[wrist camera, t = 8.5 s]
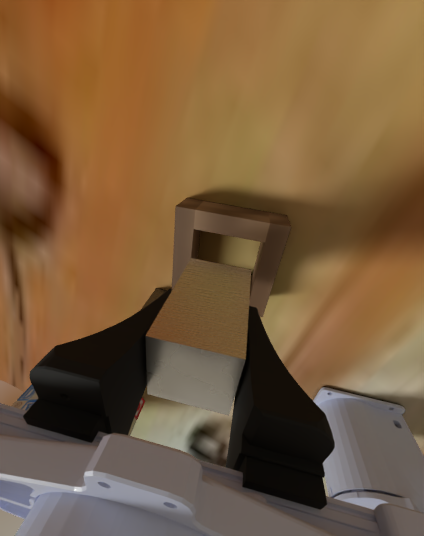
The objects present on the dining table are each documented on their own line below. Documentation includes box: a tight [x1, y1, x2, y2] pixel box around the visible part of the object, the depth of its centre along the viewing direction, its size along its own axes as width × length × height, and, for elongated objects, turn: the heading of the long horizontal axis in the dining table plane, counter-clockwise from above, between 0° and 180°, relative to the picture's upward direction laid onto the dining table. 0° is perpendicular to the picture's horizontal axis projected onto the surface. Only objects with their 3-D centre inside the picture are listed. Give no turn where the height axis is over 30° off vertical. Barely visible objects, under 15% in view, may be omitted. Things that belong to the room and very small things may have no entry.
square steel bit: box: [145, 258, 251, 415], centre depth 13 cm, size 4×4×7 cm
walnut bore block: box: [172, 198, 291, 317], centre depth 20 cm, size 8×8×3 cm
